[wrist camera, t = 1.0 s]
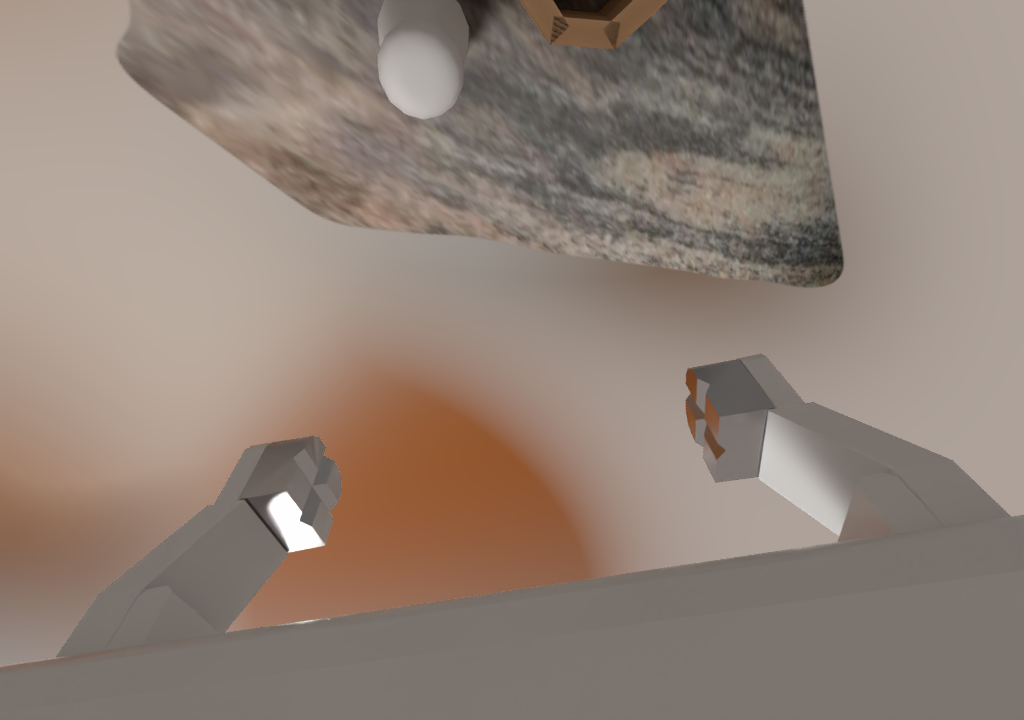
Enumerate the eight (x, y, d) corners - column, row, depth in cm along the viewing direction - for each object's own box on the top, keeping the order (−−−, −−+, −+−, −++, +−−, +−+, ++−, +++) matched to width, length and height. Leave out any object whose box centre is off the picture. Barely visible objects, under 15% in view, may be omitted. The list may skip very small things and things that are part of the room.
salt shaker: (476, -6, 32) (496, 31, 23) (456, 87, 36) (465, 152, 26) (386, -40, 31) (366, -16, 21) (374, 61, 34) (353, 121, 25)
